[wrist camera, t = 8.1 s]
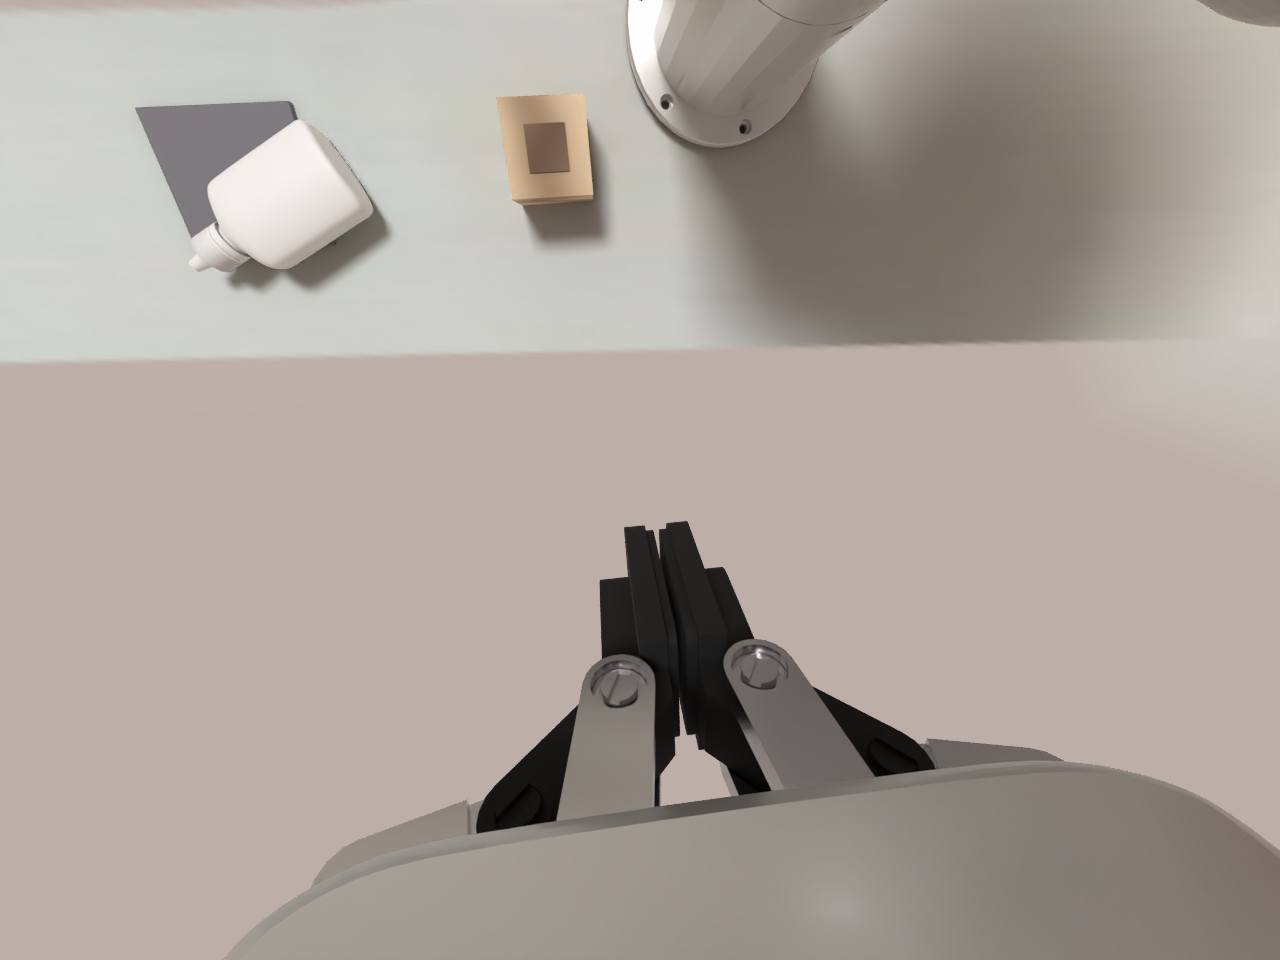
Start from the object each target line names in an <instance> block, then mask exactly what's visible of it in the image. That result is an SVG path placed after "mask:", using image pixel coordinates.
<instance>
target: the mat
mask: <svg viewBox="0 0 1280 960" xmlns="http://www.w3.org/2000/svg"><path fill="white" fill-rule="evenodd" d="M135 109H136V111H137V114H138V116H139V118H140V121H141V123H142V125H143V127H144V130H145V132H146V134H147V137H148V139H149V141H150V144H151V146H152V148H153V150H154V153H155V155H156V157H157V160H158V162H159V164H160V167H161V169H162V171H163V173H164V176H165V178H166V180H167V183H168V185H169V187H170V190H171V192H172V194H173V196H174V199H175V201H176V203H177V206H178V208H179V210H180V213H181V215H182V217H183V219H184V222H185V224H186V226H187V229H188V231H189V233H190V236H191V238H192V237H194V236H195V235H197V234H198V233H200V232H201V231H202V230H204V229H205V228H207V227H208V226H210V225H211V224H213V223H214V222H216V221H217V219H216V217H215V214H214V212H213V210H212V207H211V204H210V201H209V198H208V191H207V188H208V184H209V183H210V182H211V181H212V180H213V179H214V178H215V177H216V176H218V175H219V174H220V173H222V172H223V171H224V170H226V169H227V168H228V167H230V166H231V165H233V164H234V163H235V162H237V161H238V160H240V159H241V158H242V157H244V156H245V155H247V154H248V153H250V152H251V151H252V150H254V149H255V148H257V147H258V146H259V145H261V144H262V143H264V142H265V141H267V140H268V139H269V138H271V137H272V136H274V135H275V134H276V133H278V132H279V131H281V130H282V129H284V128H285V127H286V126H288V125H289V124H291V123H292V122H294V121H295V120H297V119H296V116H295V112H294V109H293V106H292V103H291V102H289V101H277V102H254V103H231V104H208V105H185V106H162V107H139V108H135ZM334 244H336V243H335V240H333V241H332V242H330V243H329V244H327V245H334Z"/></svg>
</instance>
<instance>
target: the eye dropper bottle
mask: <svg viewBox="0 0 1280 960" xmlns="http://www.w3.org/2000/svg"><path fill="white" fill-rule="evenodd" d="M207 191H208V198H209V201H210V204H211V207H212V210H213V212H214V214H215V217H216V219H217V221H216V222H214V223H213V224H211V225H210V226H208V227H207V228H205V229H204V230H202V231H201V232H200V233H198V234H197V235H195V236H194V237H192V239H191V242H192V245H193V248H194V249H195V251H196V252H197V253H196V254H195V256H194V257H193V258H192V259H191V260H190V262H189V264H190V266H191V267H192V268H193V269H195V270H197V271H203V270H206V269H208V268H211V267H214V268H216V269H218V270H220V271H223V272H231V271H232V270H234V269H235V268H237V267H238V266H240V265H241V264H243V263H244V262H246V261H247V260H249V259H250V258H254V259H255V260H257V261H258V262H260V263H261V264H263V265H265V266H267V267H270V268H274V269H289V268H291V267H293V266H295V265H296V264H298V263H300V262H301V261H303V260H304V259H306V258H307V257H309V256H311V255H312V254H314V253H315V252H317V251H318V250H320V249H321V248H323V247H324V246H326V245H327V244H329V243H330V242H332V241H333V240H335V239H336V238H338V237H339V236H341V235H342V234H344V233H345V232H347V231H348V230H350V229H351V228H353V227H354V226H356V225H357V224H359V223H360V222H362V221H363V220H365V219H366V218H368V217H369V216H371V214H372V213H373V207H372V204H371V202H370V200H369V198H368V196H367V195H366V193H365V191H364V189H363V188H362V186H361V185H360V183H359V181H358V180H357V178H356V177H355V175H354V174H353V172H352V171H351V169H350V168H349V167H348V165H347V164H346V162H345V161H344V160H343V158H342V157H341V156H340V154H339V153H338V152H337V150H336V149H335V148H334V147H333V145H332V144H331V143H330V141H329V140H328V139H327V138H326V137H325V136H324V134H323V133H322V132H320V131H319V130H318V129H317V128H315V127H314V126H312V125H310V124H309V123H307V122H305V121H303V120H295V121H294V122H292V123H291V124H289V125H288V126H286V127H285V128H284V129H282V130H281V131H279V132H278V133H276V134H275V135H274V136H272V137H271V138H269V139H268V140H267V141H265V142H264V143H262V144H261V145H259V146H258V147H257V148H255V149H254V150H252V151H251V152H250V153H248V154H247V155H245V156H244V157H242V158H241V159H240V160H238V161H237V162H235V163H234V164H233V165H231V166H230V167H228V168H227V169H226V170H224V171H223V172H222V173H220V174H219V175H218V176H216V177H215V178H214V179H213V180H212V181H211V182H210V183H209V184H208V188H207Z"/></svg>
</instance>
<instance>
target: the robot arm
mask: <svg viewBox="0 0 1280 960" xmlns="http://www.w3.org/2000/svg"><path fill="white" fill-rule="evenodd" d="M886 1H887V0H643V1H639V0H627V5H626V41H627V47H628V53H629V59H630V64H631V67H632V70H633V73H634V76H635V79H636V82H637V85H638V87H639V89H640V91H641V93H642V95H643V97H644V99H645V101H646V103H647V104H648V106H649V107H650V108H651V110H652V111H653V112H654V114H655V115H656V116H657V118H658V119H659V120H660V121H661V122H662V123H663V124H664V125H665V126H666V127H668V128H669V129H670V130H671V131H672V132H673V133H674V134H676V135H678V136H680V137H681V138H683V139H685V140H687V141H688V142H691V143H694V144H698V145H701V146H704V147H715V148H725V147H731V146H736V145H741V144H743V143H745V142H748V141H750V140H753V139H755V138H757V137H758V136H760V135H761V134H763V133H765V132H766V131H768V130H769V129H770V128H772V127H773V126H774V125H775V124H776V123H778V122H779V121H780V120H781V119H782V118H783V117H784V116H785V115H786V114H787V113H788V112H789V110H790V109H791V108H792V107H793V106H794V104H795V103H796V102H797V101H798V99H799V97H800V96H801V94H802V92H803V91H804V89H805V87H806V86H807V84H808V82H809V80H810V77H811V75H812V73H813V70H814V68H815V65H816V63H817V60H818V57H819V56H820V55H821V54H823V53H824V52H825V51H826V50H827V49H829V48H830V47H831V46H832V45H833V44H835V43H836V42H837V41H838V40H840V39H841V38H842V37H843V36H844V35H846V34H847V33H848V32H849V31H851V30H852V29H853V28H854V27H855V26H857V25H858V24H859V23H860V22H861V21H863V20H864V19H865V18H866V17H868V16H869V15H870V14H871V13H872V12H874V11H875V10H876V9H877V8H878V7H880V6H881V5H882V4H883V3H885V2H886ZM1198 1H1199V2H1201V3H1202V4H1204V5H1205V6H1207V7H1209V8H1210V9H1212V10H1214V11H1215V12H1217V13H1219V14H1220V15H1223V16H1225V17H1228V18H1231V19H1233V20H1236V21H1240V22H1244V23H1248V24H1254V25H1259V26H1268V27H1280V0H1198ZM663 101H666V102H667V103H668V109H667V110H664V109H663V108H662V106H661V103H662V102H663ZM740 126H744V128H745V132H744V134H741V133H740V131H739V127H740ZM624 533H625V544H626V557H627V569H628V577H624V578H614V579H605V580H600V608H601V609H600V611H601V641H602V659H601V660H600V661H598V662H597V663H596V664H594V665H593V666H592V667H591V668H590V670H589V671H588V672H587V673H586V676H585V678H584V681H583V684H582V689H581V695H580V700H579V704H578V705H577V706H576V707H575V708H574V709H573V710H572V711H571V712H570V713H569V714H568V715H567V716H566V717H565V718H564V719H563V720H562V721H561V722H560V723H559V724H558V725H557V726H556V727H555V728H554V729H553V730H552V731H551V732H550V733H549V734H548V735H547V736H546V737H545V738H544V739H542V740H541V741H540V742H539V743H538V745H536V747H534V748H533V749H532V750H531V751H530V752H529V753H528V754H527V755H526V756H525V757H524V758H523V759H522V760H521V761H520V762H519V763H518V764H517V765H516V766H515V767H514V768H513V769H512V770H511V771H510V772H509V773H508V774H506V775H505V777H503V778H502V779H501V780H500V781H499V782H498V783H497V784H496V785H495V786H494V788H493V789H492V790H491V791H490V792H489V794H488V795H487V796H486V798H485V799H484V800H482V801H479V802H476V803H474V804H471V805H469V804H468V802H467V800H465V801H462V802H459V803H457V804H454V805H452V806H449V807H446V808H443V809H440V810H438V811H435V812H432V813H430V814H427V815H424V816H421V817H419V818H416V819H414V820H411V821H408V822H405V823H403V824H400V825H397V826H394V827H392V828H389V829H386V830H383V831H381V832H378V833H375V834H373V835H370V836H367V837H365V838H362V839H359V840H357V841H355V842H353V843H352V844H349V845H348V846H346V847H344V848H342V849H341V850H340V851H339V852H338V853H336V854H335V855H334V856H333V857H332V858H331V859H330V860H329V861H328V862H326V864H325V865H324V867H323V868H322V870H321V871H320V872H319V874H318V875H317V877H316V878H315V879H314V882H313V884H312V887H311V888H310V889H309V890H307V891H305V892H303V893H302V894H300V895H298V896H297V897H295V898H294V899H292V900H291V901H289V902H288V903H286V904H285V905H283V906H282V907H280V908H279V909H277V910H276V911H275V912H274V913H272V914H271V915H269V916H268V917H267V918H265V919H264V920H262V921H261V922H260V923H259V924H258V925H256V926H255V927H254V928H253V929H252V930H251V931H250V932H248V933H247V934H246V935H245V936H244V937H243V938H242V939H241V940H240V941H239V942H238V943H237V944H236V945H235V946H234V948H233V949H232V950H231V951H230V952H229V953H228V955H227V956H226V957H225V958H224V959H223V960H1280V850H1278V849H1277V848H1276V847H1275V846H1273V845H1272V844H1271V843H1269V842H1268V841H1267V840H1266V839H1264V838H1263V837H1262V836H1260V835H1259V834H1258V833H1256V832H1255V831H1253V830H1252V829H1251V828H1249V827H1248V826H1247V825H1245V824H1244V823H1242V822H1241V821H1240V820H1238V819H1237V818H1235V817H1234V816H1232V815H1231V814H1230V813H1228V812H1226V811H1225V810H1223V809H1221V808H1220V807H1218V806H1217V805H1215V804H1213V803H1212V802H1210V801H1208V800H1207V799H1204V798H1202V797H1200V796H1198V795H1196V794H1194V793H1192V792H1190V791H1188V790H1186V789H1183V788H1180V787H1178V786H1175V785H1172V784H1169V783H1167V782H1164V781H1161V780H1157V779H1154V778H1151V777H1147V776H1144V775H1141V774H1137V773H1132V772H1128V771H1123V770H1119V769H1114V768H1110V767H1105V766H1099V765H1092V764H1084V763H1074V762H1065V761H1063V760H1061V759H1059V758H1057V757H1055V756H1053V755H1051V754H1049V753H1047V752H1044V751H1040V750H1036V749H1031V748H1023V747H1012V746H1002V745H991V744H980V743H970V742H959V741H948V740H937V739H927V740H926V743H925V744H918V743H917V742H916V741H915V740H913V739H911V738H910V737H908V736H907V735H905V734H904V733H902V732H900V731H898V730H896V729H895V728H893V727H891V726H889V725H887V724H885V723H882V722H881V721H879V720H877V719H875V718H873V717H871V716H869V715H867V714H865V713H863V712H861V711H859V710H857V709H856V708H854V707H852V706H850V705H847V704H846V703H844V702H841V701H840V700H838V699H836V698H834V697H832V696H830V695H828V694H826V693H824V692H822V691H820V690H818V689H817V688H814V687H813V686H811V684H810V683H809V681H808V680H807V678H806V677H805V676H804V674H803V673H802V671H801V670H800V668H799V667H798V666H797V664H796V663H795V661H794V660H793V658H792V657H791V656H790V655H789V654H788V653H787V652H786V651H785V650H784V649H782V648H781V647H779V646H778V645H776V644H774V643H771V642H768V641H766V640H759V639H754V637H753V634H752V633H751V630H750V627H749V625H748V623H747V620H746V618H745V615H744V613H743V611H742V609H741V606H740V603H739V601H738V599H737V596H736V594H735V592H734V589H733V587H732V585H731V582H730V580H729V577H728V575H727V573H726V571H725V569H724V568H723V567H718V568H708V569H705V568H704V566H703V563H702V560H701V557H700V555H699V552H698V549H697V546H696V543H695V541H694V538H693V536H692V532H691V530H690V527H689V524H688V522H687V521H684V522H674V523H667V524H666V529H659V542H660V558H659V554H658V549H657V545H656V540H655V536H654V532H653V530H649V531H646V530H645V526H634V527H624ZM679 699H680V704H681V709H682V714H683V719H684V724H685V729H686V733H687V735H692V734H695V735H696V739H697V744H698V749H699V750H703V749H705V751H706V752H707V753H709V754H710V755H712V756H713V757H714V758H716V759H717V760H719V761H720V767H721V771H722V774H723V777H724V780H725V782H726V784H727V787H728V790H729V792H730V794H731V797H725V798H717V799H710V800H703V801H695V802H688V803H682V804H674V805H667V806H661V773H662V772H663V771H664V769H665V768H666V766H667V765H668V764H669V763H670V761H671V760H672V759H673V757H674V756H675V737H677V736H680V716H679Z"/></svg>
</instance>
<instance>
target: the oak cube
mask: <svg viewBox="0 0 1280 960" xmlns="http://www.w3.org/2000/svg"><path fill="white" fill-rule="evenodd" d="M496 99H497V105H498V112H499V118H500V124H501V131H502V137H503V143H504V150H505V156H506V162H507V169H508V175H509V182H510V188H511V194H512V200H514V201H516V202H517V203H519V204H521V205H522V206H523V205H540V204H556V203H572V202H588V201H593V185H592V174H591V163H590V152H589V140H588V129H587V118H586V107H585V96H584V93H581V94H560V95H539V96H518V97H497V98H496Z"/></svg>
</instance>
